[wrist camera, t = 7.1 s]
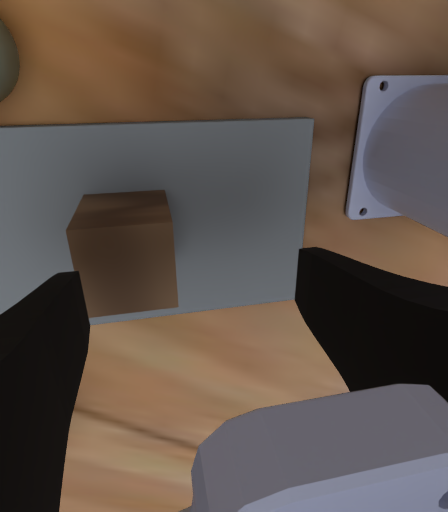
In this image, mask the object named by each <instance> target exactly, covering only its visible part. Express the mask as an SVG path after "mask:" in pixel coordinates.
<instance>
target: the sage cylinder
mask: <svg viewBox="0 0 448 512" xmlns="http://www.w3.org/2000/svg"><path fill="white" fill-rule="evenodd" d="M19 68H20V65H19V55H18V50H17V47H16V44H15V41H14V39H13V37H12V35H11V33H10V31H9V29H8V28H7V26H6V25H5V24H4V22H3V21H2V20H1V19H0V101H2V100H4V99H5V98H6V97H7V96H8V95H9V94H10V93H11V92H12V90H13V88H14V87H15V85H16V82H17V80H18V76H19Z"/></svg>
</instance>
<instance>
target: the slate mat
mask: <svg viewBox="0 0 448 512" xmlns="http://www.w3.org/2000/svg"><path fill="white" fill-rule="evenodd" d="M313 127H314V119H313V118H308V117H297V118H262V119H226V120H191V121H156V122H121V123H85V124H50V125H15V126H0V314H2V313H3V312H5V311H6V310H8V309H9V308H10V307H12V306H13V305H15V304H16V303H18V302H19V301H20V300H22V299H23V298H24V297H26V296H27V295H28V294H29V293H31V292H32V291H33V290H35V289H36V288H37V287H39V286H40V285H41V284H42V283H44V282H45V281H46V280H48V279H49V278H50V277H52V276H53V275H55V274H57V273H60V272H70V271H74V268H73V264H72V259H71V254H70V249H69V244H68V239H67V235H66V229H67V227H68V225H69V223H70V221H71V219H72V217H73V215H74V213H75V211H76V209H77V207H78V205H79V203H80V201H81V199H82V197H83V195H84V194H101V193H117V192H134V191H151V190H165V193H166V197H167V201H168V205H169V209H170V213H171V217H172V222H173V234H174V248H175V262H176V276H177V290H178V305H179V307H177V308H169V309H160V310H152V311H144V312H135V313H127V314H119V315H111V316H102V317H94V318H89V322H90V325H96V324H103V323H111V322H119V321H127V320H135V319H143V318H151V317H159V316H167V315H175V314H183V313H191V312H199V311H206V310H214V309H222V308H230V307H238V306H246V305H254V304H262V303H270V302H278V301H286V300H294V299H295V288H296V277H297V265H298V253H299V249H301V248H302V246H303V235H304V224H305V214H306V203H307V192H308V181H309V171H310V160H311V149H312V138H313Z"/></svg>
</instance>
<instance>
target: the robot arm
mask: <svg viewBox="0 0 448 512" xmlns="http://www.w3.org/2000/svg"><path fill="white" fill-rule="evenodd" d="M382 81H383V83H384V87H383V89H382V90H380V88H379V86H380V83H381V82H382ZM362 208H364V210H363V212H362V213H360V214H359V212H360V210H361V209H362ZM346 216H347V217H349V218H350V219H352V220H358V219H369V218H381V217H392V216H406V217H408V218H410V219H412V220H414V221H416V222H418V223H420V224H422V225H424V226H426V227H428V228H430V229H432V230H435V231H437V232H439V233H441V234H443V235H445V236H447V237H448V75H397V76H370V77H369V78H367V79H366V81H365V82H364V86H363V92H362V99H361V106H360V113H359V120H358V127H357V134H356V141H355V148H354V155H353V162H352V169H351V176H350V183H349V190H348V197H347V204H346ZM295 302H296V304H297V306H298V308H299V311H300V313H301V315H302V317H303V319H304V321H305V323H306V324H307V326H308V327H309V329H310V330H311V332H312V333H313V335H314V336H315V338H316V339H317V341H318V342H319V344H320V345H321V347H322V348H323V350H324V351H325V352H326V354H327V355H328V357H329V358H330V360H331V361H332V363H333V364H334V366H335V367H336V369H337V370H338V372H339V373H340V375H341V376H342V378H343V380H344V381H345V383H346V385H347V387H348V389H349V391H350V392H348V393H342V394H337V395H331V396H325V397H320V398H314V399H309V400H303V401H298V402H292V403H286V404H281V405H275V406H270V407H264V408H259V409H255V410H253V411H250V412H247V413H245V414H242V415H239V416H237V417H234V418H231V419H229V420H226V421H225V422H224V423H223V424H222V425H221V426H220V427H219V428H218V429H216V430H215V431H214V432H213V433H212V434H211V435H210V436H209V437H208V438H207V439H206V440H204V441H203V442H202V443H201V444H200V445H199V447H198V451H197V454H196V457H195V460H194V463H193V467H192V470H191V474H192V487H193V500H192V506H190V507H188V508H186V509H183V510H181V511H179V512H448V287H445V286H440V285H436V284H431V283H427V282H423V281H419V280H415V279H411V278H407V277H403V276H400V275H397V274H394V273H390V272H387V271H384V270H381V269H378V268H375V267H372V266H370V265H367V264H364V263H361V262H359V261H356V260H353V259H351V258H348V257H345V256H343V255H340V254H337V253H335V252H332V251H329V250H326V249H322V248H318V247H311V248H301V249H299V253H298V265H297V277H296V288H295ZM89 333H90V322H89V317H88V312H87V308H86V303H85V298H84V293H83V288H82V284H81V279H80V274H79V271H70V272H60V273H57V274H55V275H53V276H52V277H50V278H49V279H48V280H46V281H45V282H44V283H42V284H41V285H40V286H39V287H37V288H36V289H35V290H33V291H32V292H31V293H29V294H28V295H27V296H26V297H24V298H23V299H22V300H20V301H19V302H18V303H16V304H15V305H13V306H12V307H10V308H9V309H8V310H6V311H5V312H3V313H2V314H0V512H59V506H60V497H61V488H62V480H63V471H64V463H65V455H66V448H67V441H68V433H69V427H70V422H71V417H72V413H73V409H74V405H75V401H76V397H77V393H78V389H79V385H80V381H81V377H82V373H83V369H84V365H85V361H86V357H87V353H88V344H89Z"/></svg>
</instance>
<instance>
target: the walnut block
mask: <svg viewBox="0 0 448 512" xmlns="http://www.w3.org/2000/svg"><path fill="white" fill-rule="evenodd" d="M66 235H67V239H68V244H69V249H70V254H71V259H72V264H73V268H74V271H79V274H80V279H81V284H82V288H83V293H84V298H85V303H86V308H87V312H88V317H89V318H94V317H102V316H111V315H119V314H127V313H135V312H144V311H152V310H160V309H169V308H177V307H179V305H178V290H177V276H176V262H175V248H174V234H173V222H172V217H171V213H170V209H169V205H168V201H167V197H166V193H165V190H151V191H134V192H117V193H101V194H84V195H83V197H82V199H81V201H80V203H79V205H78V207H77V209H76V211H75V213H74V215H73V217H72V219H71V221H70V223H69V225H68V227H67V229H66Z"/></svg>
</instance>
